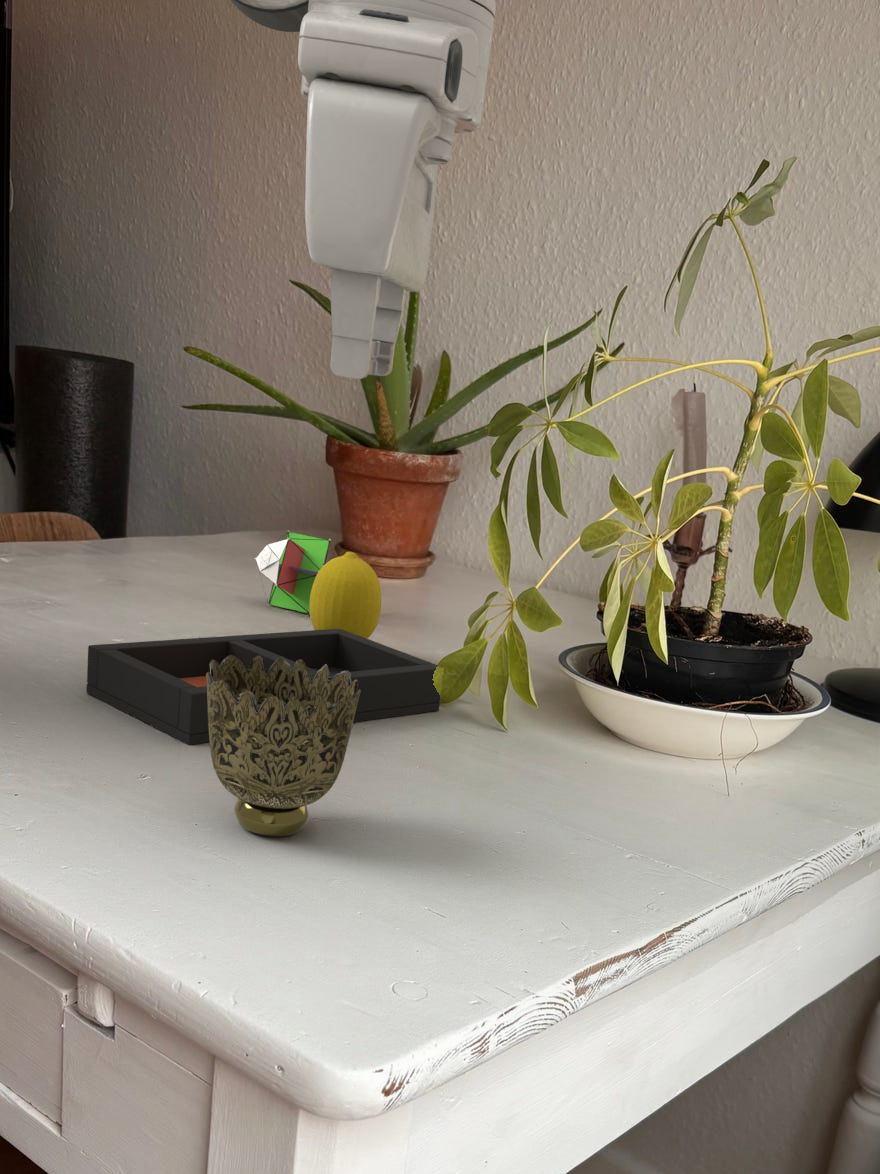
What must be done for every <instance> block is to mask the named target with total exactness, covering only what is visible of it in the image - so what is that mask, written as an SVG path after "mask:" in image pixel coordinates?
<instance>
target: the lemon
mask: <svg viewBox="0 0 880 1174" xmlns="http://www.w3.org/2000/svg"><path fill="white" fill-rule="evenodd" d="M324 564H325V563H324ZM381 589H382V588H381V584H380V580H379V577H378V575H377V573H376V572H375V570H374V568H372V566H371V565H370V564H368V562H366V561H364V560H363V559H361V558H360V557H359V556H358V554H357V553H356V552H353V551H346V552H345V553H344V554H343V555H340V556H336V557H333V558H331V559H330V560H329V561H326V564H325V565H323V567H322V568H321V569H320V570H319V572H318V574H317V576H316V578H315V580H314V583H313V586H312V590H311V594H310V603H309V604H310V615H309V616H310V621H311V624H312V627H313V629H314V630H327V629H342V630H345V631H347V632H350V633H353V634H356V635H358V636H361V637H364V638H366V639H369V638H370V637H371V636H372V635H373V633H374V632H375V630H376V628H377V626H378V623H379V620H380V616H381V611H382V590H381Z"/></svg>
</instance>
